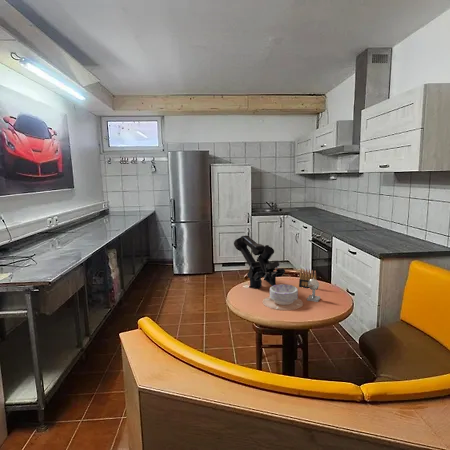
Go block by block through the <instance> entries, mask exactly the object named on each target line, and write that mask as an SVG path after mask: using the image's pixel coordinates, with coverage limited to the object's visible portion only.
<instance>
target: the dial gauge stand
mask: <svg viewBox="0 0 450 450" xmlns="http://www.w3.org/2000/svg"><path fill="white" fill-rule="evenodd" d="M308 287H309V288H310V289H309V290H312V291H311V292H312V293H311V294H309V295H308V296H307V297H306V301H310V302H314V303H315V302H316V303H318V302H319V301H320V299H321V296H319V295H316V290H318V288H320V283H319V281H318V280H317V278H316V279H314V278H313V279H311V280H309V282H308Z"/></svg>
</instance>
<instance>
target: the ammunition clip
mask: <svg viewBox="0 0 450 450" xmlns="http://www.w3.org/2000/svg"><path fill="white" fill-rule="evenodd" d="M311 279H316V280H317V272H316V270H313V269H311V270H310V269H307V268H306V269H305V268H303V269H302V268H300V270H299V281H298V282H299V283H298V288H302V287H303V289H308V288H309V287H308V282H309V280H311Z"/></svg>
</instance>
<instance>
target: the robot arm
mask: <svg viewBox="0 0 450 450" xmlns="http://www.w3.org/2000/svg"><path fill="white" fill-rule="evenodd" d="M233 246H234V248H235V249H236V250H237V251H240V252H241V254H242V256H243V257H244V259H245V261H246V263H247V265H248V267H249V268H248V272H247V277H248V279H249V286H248V288H251V289H258V290H259V289H260V288H261V287H263V284H262V283H263V282H262V281H265V282H266V283H268V284H269V285H270V286H273V285H277V281H276V280H277V279H276V278H279V277H283V275H284V274H285V273H286V270H285V268H284V267H283V268H282V267H281V268H278V267H280V262H279V260H275V261H273V262H271V261H270V259H271V258H272V256H273V255H274V254H275V249H274V248H273V247H271V246H269V244H267V245H266V244H265V245H264V244H261V243H257V241H254V239H252V238H251V237H250V235H249V234H247V235H242V236H240V237H239V238H238V237H237V238H236V239H235V240H234V242H233ZM250 250H251V252H250ZM254 256H257V257H256V259H255V258H254ZM276 269H277V270H276ZM262 278H263V280H262Z"/></svg>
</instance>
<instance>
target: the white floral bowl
mask: <svg viewBox="0 0 450 450" xmlns="http://www.w3.org/2000/svg"><path fill="white" fill-rule="evenodd" d="M269 296H270V298H271V299H272V300H274V302H275V303H277V304H279V305H289V304H292V303H293V302H294V301H295V300H296V299H297V298H298V299H299V288H297V287H296V286H295V285H292V284H285V283H283V284H281V283H280V284H276V285H273V286H272V285H270V287H269Z"/></svg>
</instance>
